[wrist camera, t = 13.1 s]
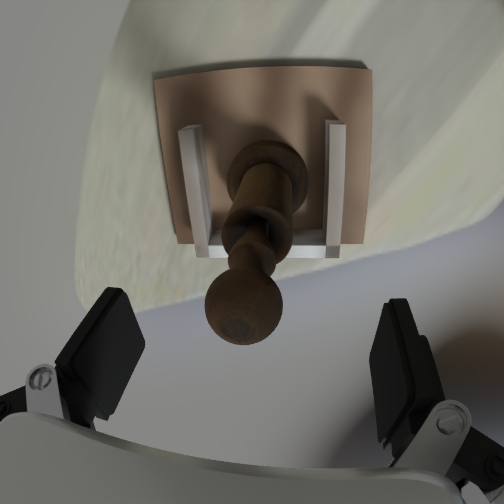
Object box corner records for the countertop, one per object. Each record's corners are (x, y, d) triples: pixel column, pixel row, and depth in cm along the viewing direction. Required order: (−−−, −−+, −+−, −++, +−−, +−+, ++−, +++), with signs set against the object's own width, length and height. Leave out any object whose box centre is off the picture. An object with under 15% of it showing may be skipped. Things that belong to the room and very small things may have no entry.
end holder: (369, 70, 21) (382, 68, 18) (361, 238, 29) (369, 260, 26) (158, 79, 23) (138, 80, 20) (181, 239, 32) (168, 259, 28)
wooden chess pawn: (235, 213, 28) (177, 379, 13) (225, 143, 25) (126, 257, 10) (309, 208, 27) (328, 381, 12) (305, 136, 24) (335, 246, 9)
